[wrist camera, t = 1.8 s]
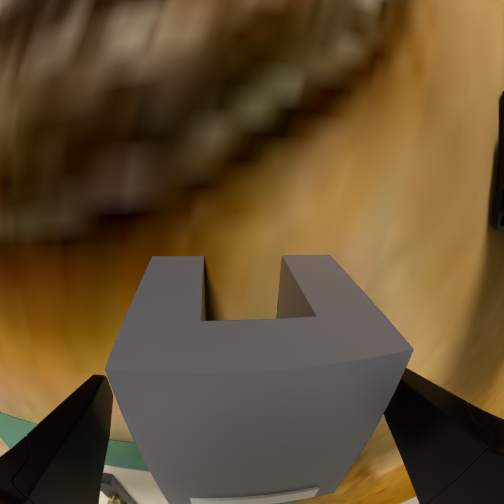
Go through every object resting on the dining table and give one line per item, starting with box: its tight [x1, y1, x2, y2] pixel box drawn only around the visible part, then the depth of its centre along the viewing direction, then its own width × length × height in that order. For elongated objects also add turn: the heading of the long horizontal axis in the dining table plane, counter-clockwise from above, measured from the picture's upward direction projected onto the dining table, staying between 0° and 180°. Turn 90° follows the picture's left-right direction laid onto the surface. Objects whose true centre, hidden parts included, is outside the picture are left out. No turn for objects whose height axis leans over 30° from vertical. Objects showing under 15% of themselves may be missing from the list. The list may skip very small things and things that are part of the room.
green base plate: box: [0, 413, 294, 504], centre depth 14 cm, size 20×14×1 cm
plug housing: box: [105, 255, 413, 504], centre depth 8 cm, size 6×7×5 cm
